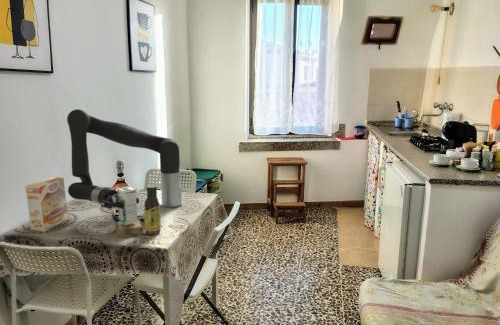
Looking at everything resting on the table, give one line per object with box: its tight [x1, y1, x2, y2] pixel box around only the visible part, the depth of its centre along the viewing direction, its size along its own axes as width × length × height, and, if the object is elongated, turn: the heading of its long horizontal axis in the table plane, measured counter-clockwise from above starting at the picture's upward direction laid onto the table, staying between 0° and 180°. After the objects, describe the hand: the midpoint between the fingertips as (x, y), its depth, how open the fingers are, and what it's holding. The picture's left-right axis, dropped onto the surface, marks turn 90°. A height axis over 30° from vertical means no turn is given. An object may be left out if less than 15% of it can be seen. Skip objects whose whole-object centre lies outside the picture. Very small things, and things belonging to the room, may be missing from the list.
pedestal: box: [115, 218, 144, 239], centre depth 156 cm, size 10×10×3 cm
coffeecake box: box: [24, 176, 69, 232], centre depth 161 cm, size 15×7×20 cm, turn 168°
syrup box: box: [117, 186, 138, 225], centre depth 153 cm, size 6×6×14 cm
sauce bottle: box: [143, 184, 162, 236], centre depth 153 cm, size 6×6×20 cm
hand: (130, 203), depth 152 cm, fingers closed on syrup box, 7 cm apart
